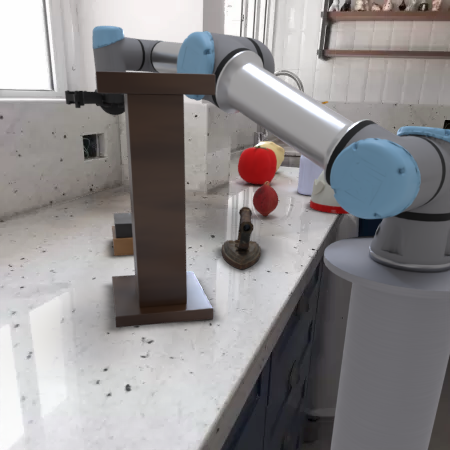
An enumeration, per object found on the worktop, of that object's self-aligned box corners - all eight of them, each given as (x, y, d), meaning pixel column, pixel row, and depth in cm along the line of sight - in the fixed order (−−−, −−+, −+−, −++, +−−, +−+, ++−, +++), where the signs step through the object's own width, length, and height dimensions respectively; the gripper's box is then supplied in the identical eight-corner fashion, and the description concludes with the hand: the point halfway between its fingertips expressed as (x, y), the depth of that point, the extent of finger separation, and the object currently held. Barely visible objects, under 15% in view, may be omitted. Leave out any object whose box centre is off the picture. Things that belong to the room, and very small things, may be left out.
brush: (111, 223, 104) (109, 197, 102) (139, 222, 105) (137, 196, 103) (114, 256, 83) (112, 224, 81) (149, 254, 85) (147, 223, 82)
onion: (261, 220, 108) (263, 184, 105) (247, 215, 113) (248, 180, 109) (282, 217, 111) (284, 182, 108) (267, 212, 115) (269, 178, 112)
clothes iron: (259, 250, 89) (268, 201, 83) (261, 286, 80) (271, 233, 74) (221, 246, 88) (228, 196, 82) (219, 281, 79) (226, 228, 73)
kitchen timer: (322, 214, 114) (328, 148, 109) (302, 202, 127) (306, 142, 121) (375, 212, 117) (385, 148, 111) (351, 201, 130) (358, 142, 124)
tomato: (241, 187, 145) (242, 147, 141) (233, 180, 158) (234, 143, 153) (280, 187, 147) (283, 147, 143) (270, 179, 159) (272, 143, 155)
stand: (112, 285, 71) (95, 74, 59) (193, 280, 73) (191, 77, 62) (116, 327, 58) (95, 70, 47) (213, 319, 61) (215, 74, 50)
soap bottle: (326, 197, 134) (335, 101, 124) (294, 194, 137) (300, 100, 127) (331, 191, 141) (341, 101, 132) (301, 189, 144) (308, 100, 135)
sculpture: (287, 172, 175) (290, 141, 170) (267, 175, 166) (268, 143, 162) (263, 168, 182) (264, 138, 177) (242, 172, 174) (243, 140, 169)
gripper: (166, 114, 118) (180, 119, 99) (60, 114, 112) (52, 118, 94) (165, 81, 115) (179, 79, 96) (56, 78, 109) (47, 76, 91)
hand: (117, 98), depth 95 cm, fingers open, 13 cm apart
